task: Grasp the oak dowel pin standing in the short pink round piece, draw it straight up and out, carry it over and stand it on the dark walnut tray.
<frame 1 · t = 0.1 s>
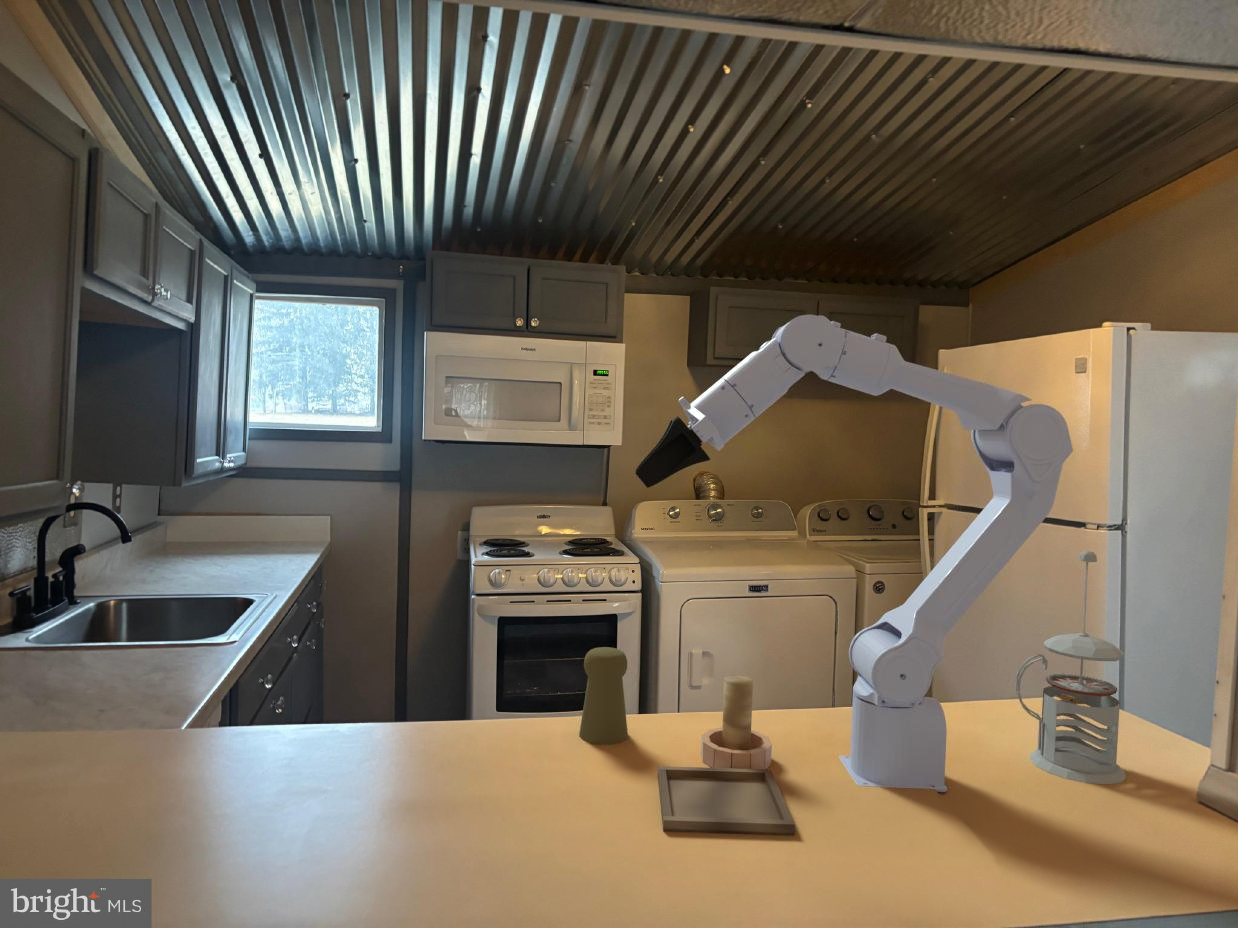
hand: (641, 479, 88), 32 cm above the countertop, tool tilted 50°, fingers open, 7 cm apart
french press: (1067, 766, 94), on the countertop
dowel pin: (735, 758, 91), point 1 cm above the countertop, touching pink round piece
pink round piece: (735, 764, 91), on the countertop
walnut tray: (720, 808, 80), on the countertop
olive green pawn: (603, 741, 97), on the countertop
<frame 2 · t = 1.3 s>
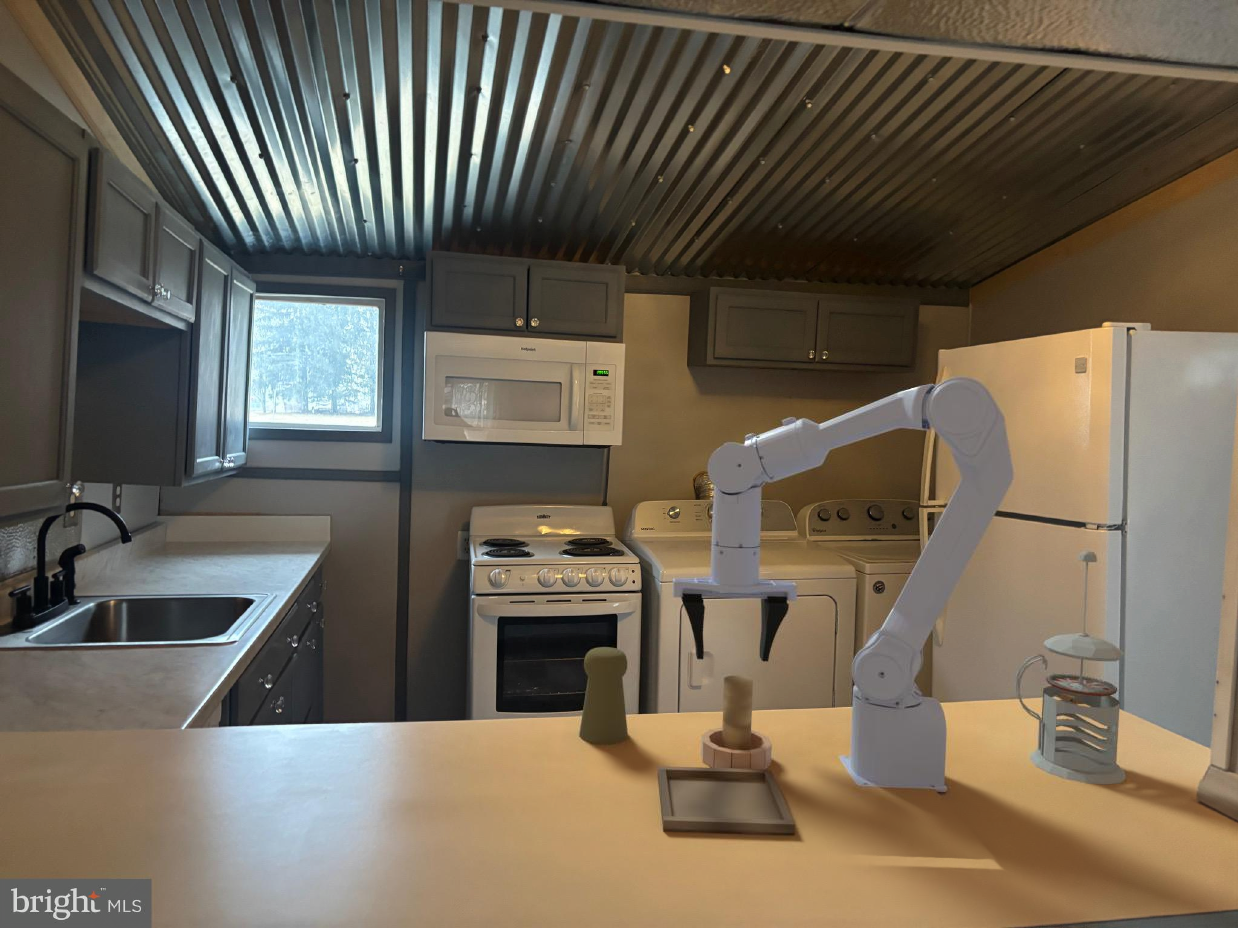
hand: (731, 658, 96), 10 cm above the countertop, tool pointing down, fingers open, 7 cm apart
nothing on the countertop moved.
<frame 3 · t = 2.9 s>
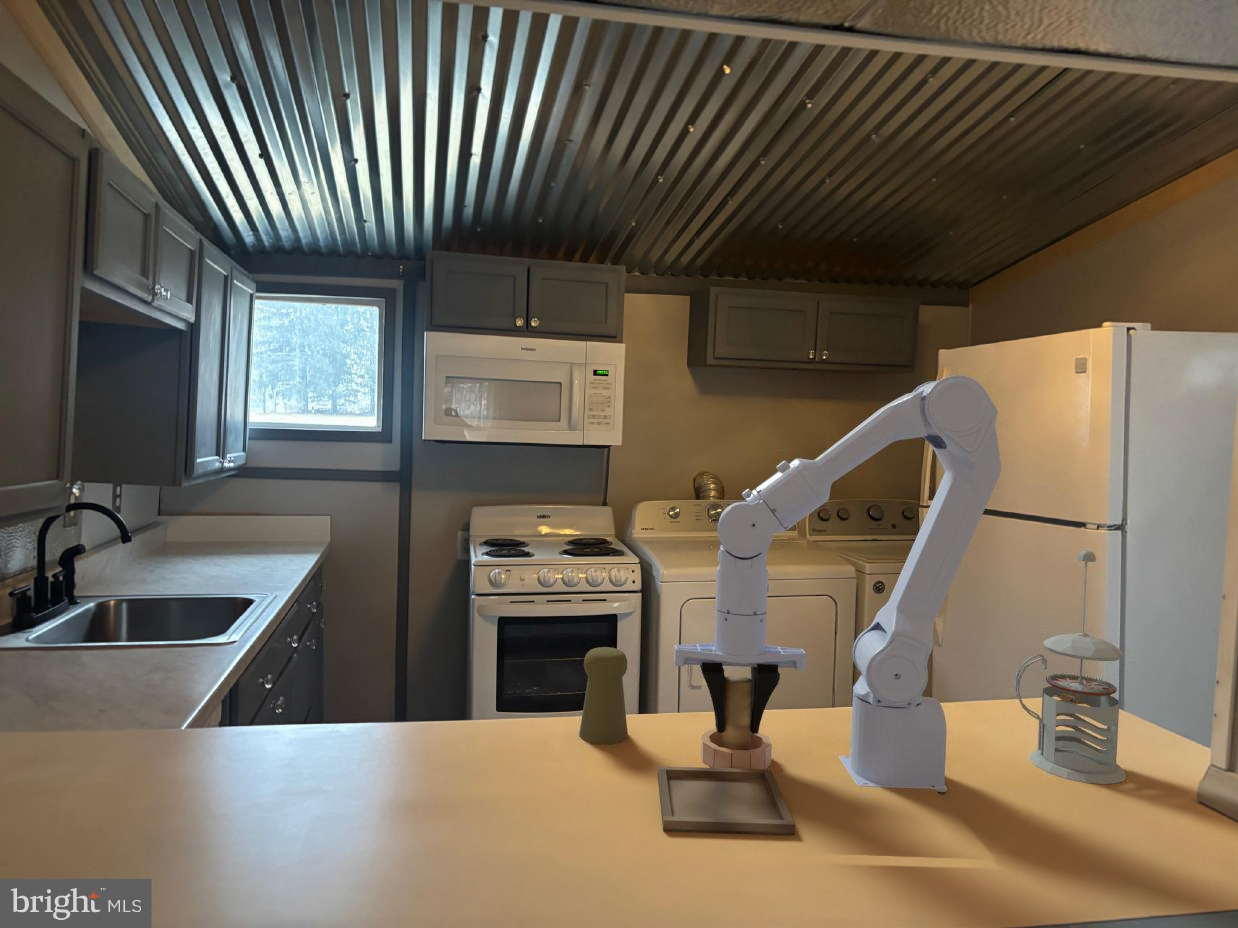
hand: (736, 729, 91), 4 cm above the countertop, tool pointing down, fingers closed on dowel pin, 3 cm apart
dowel pin: (735, 758, 91), point 1 cm above the countertop, touching gripper, pink round piece
everything else where it was.
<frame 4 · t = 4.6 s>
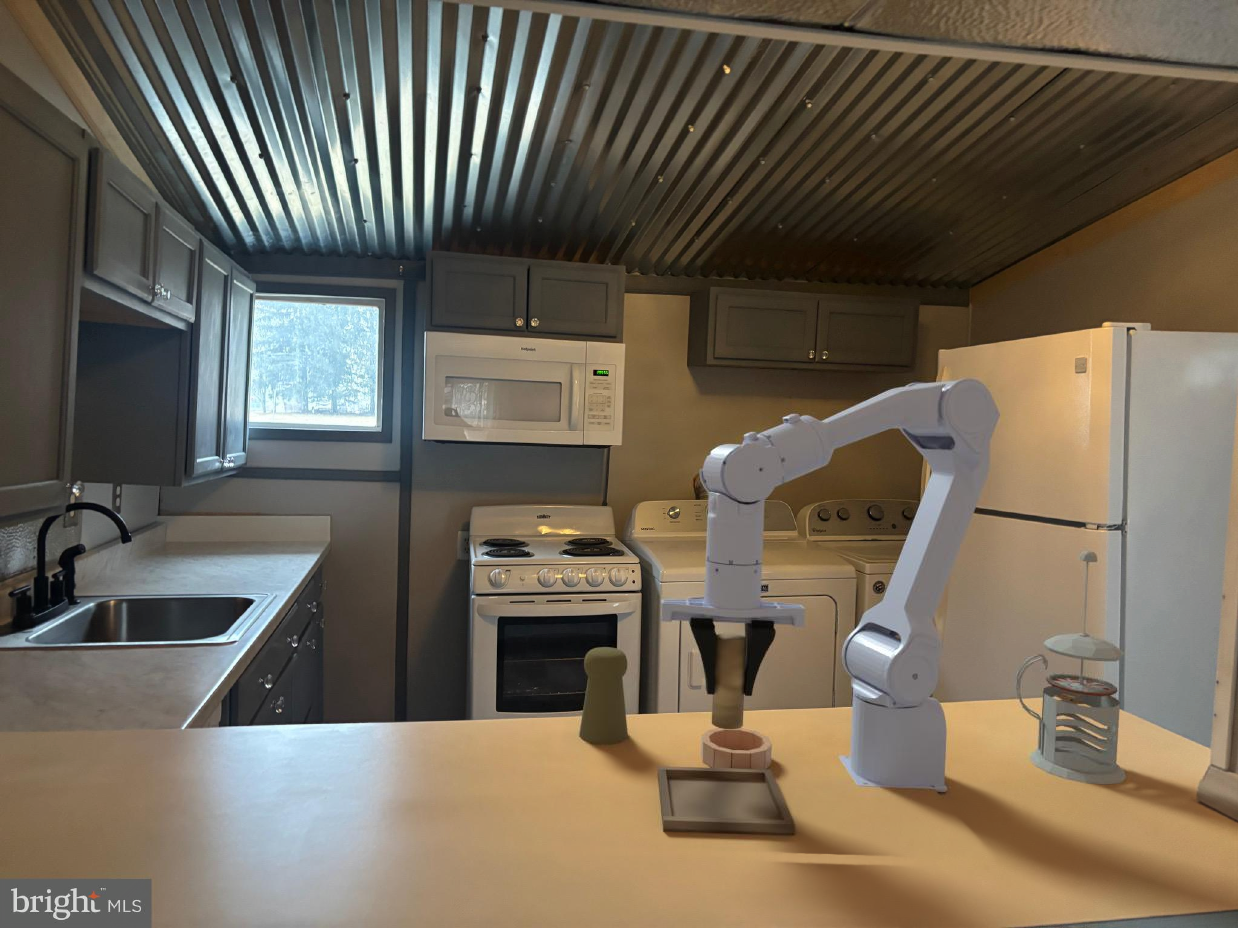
hand: (728, 692, 83), 10 cm above the countertop, tool pointing down, fingers closed on dowel pin, 3 cm apart
dowel pin: (727, 723, 83), point 7 cm above the countertop, touching gripper
everything else where it was.
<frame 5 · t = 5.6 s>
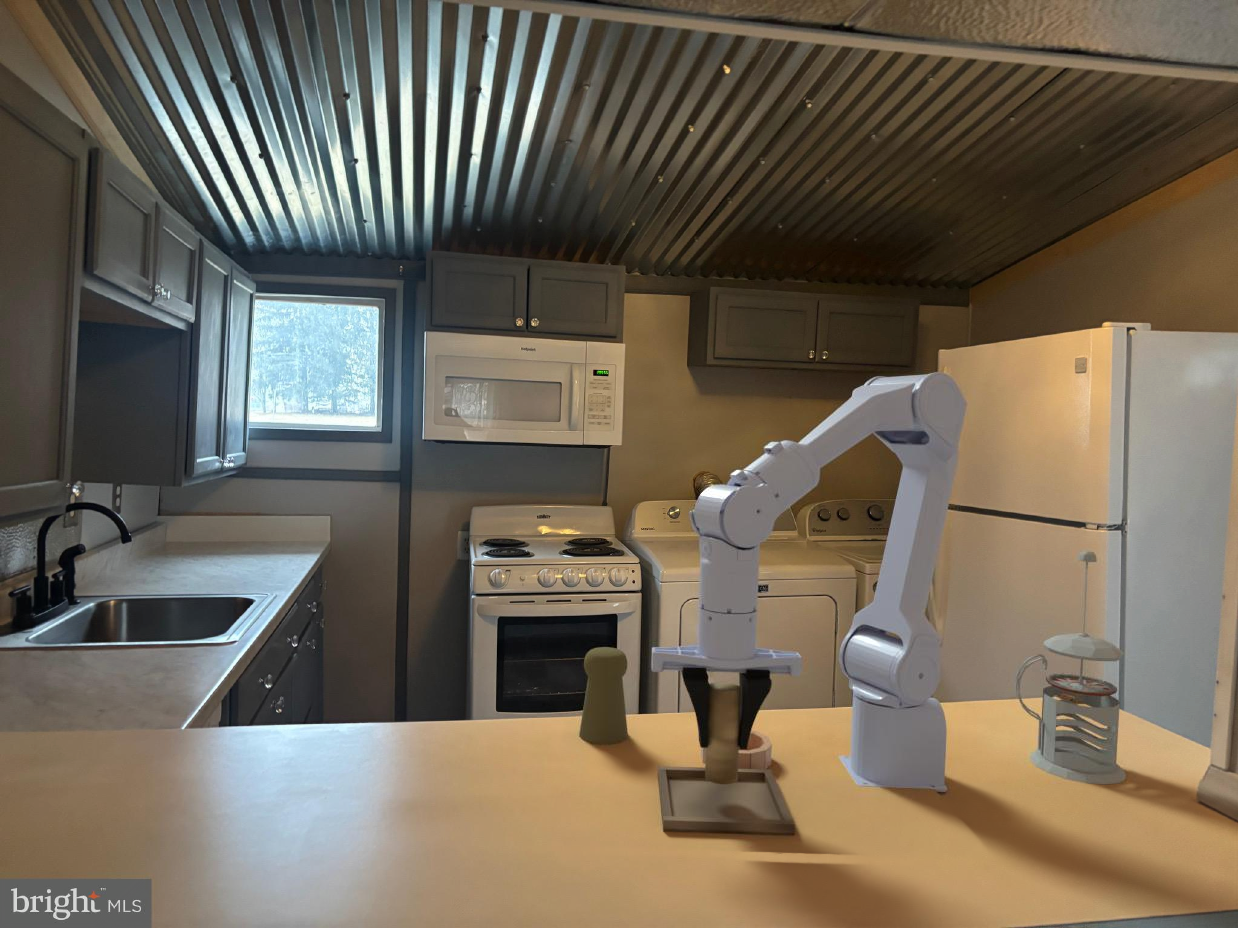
hand: (722, 744, 79), 6 cm above the countertop, tool pointing down, fingers closed on dowel pin, 3 cm apart
dowel pin: (721, 777, 80), point 3 cm above the countertop, touching gripper
everything else where it was.
when the fingers open (5 cm above the countertop, at t = 6.1 s): dowel pin drops 1 cm, resting on walnut tray.
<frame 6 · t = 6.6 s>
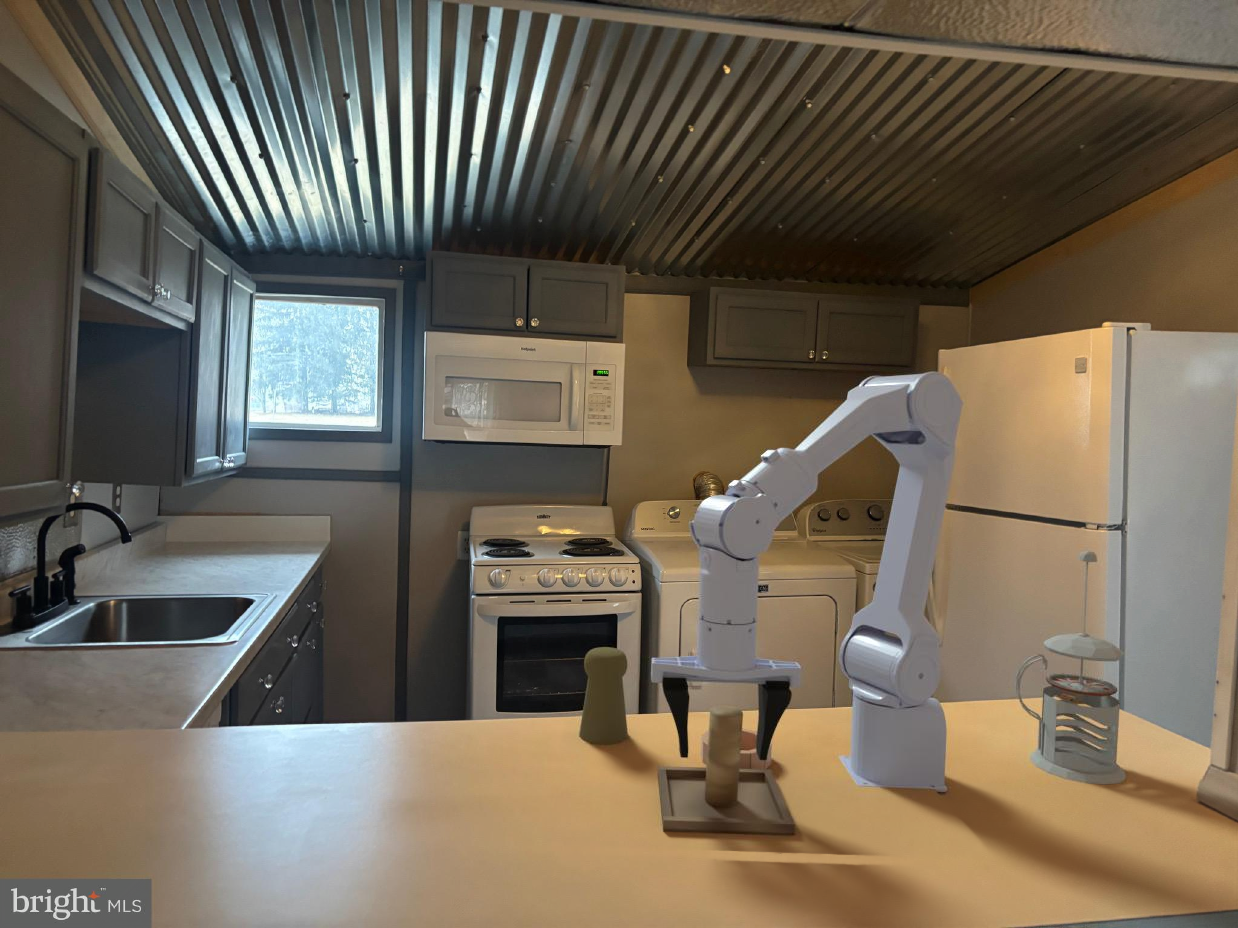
hand: (722, 754, 79), 5 cm above the countertop, tool pointing down, fingers open, 7 cm apart
dowel pin: (720, 799, 80), point 1 cm above the countertop, touching walnut tray
everything else where it was.
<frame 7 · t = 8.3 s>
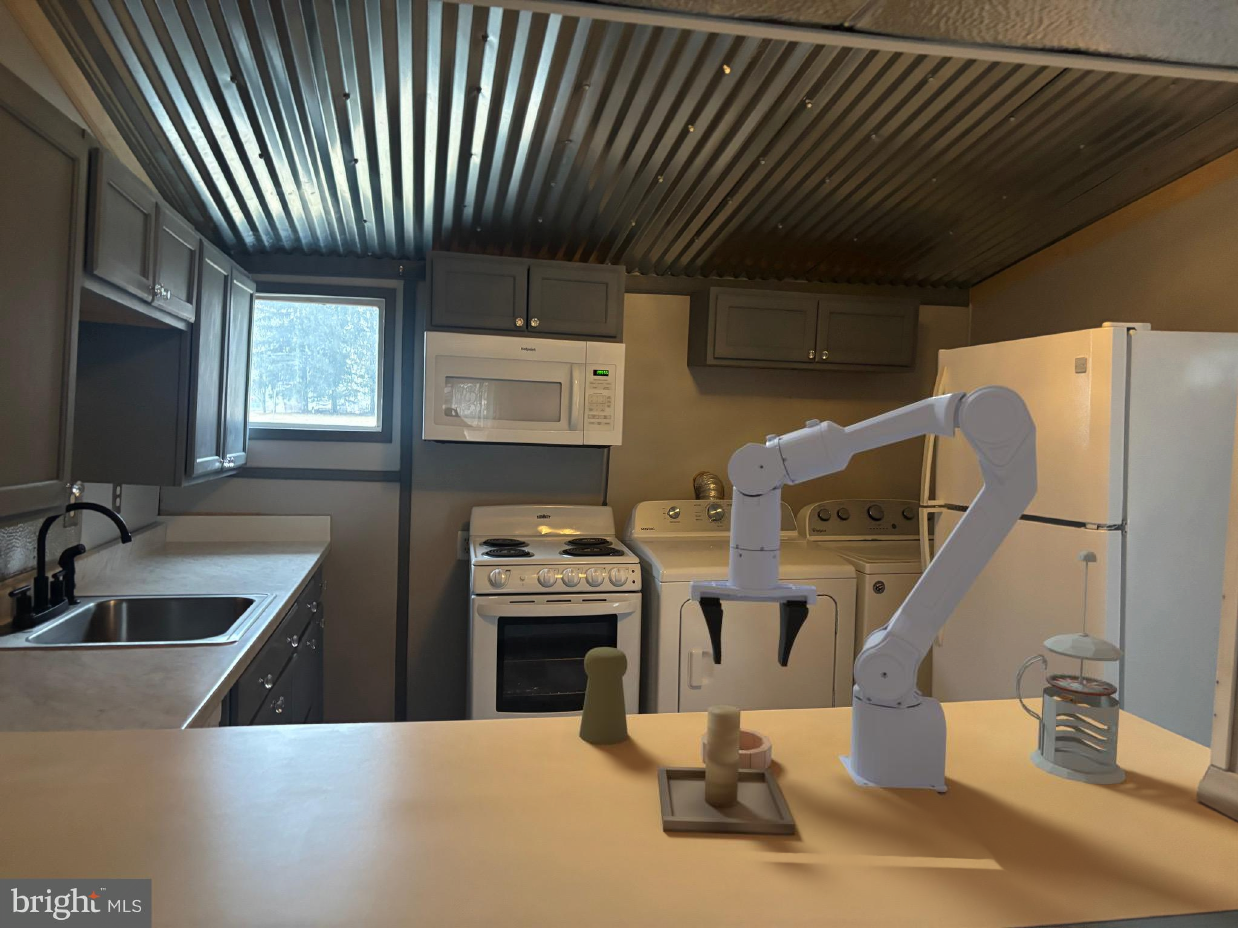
hand: (749, 663, 94), 10 cm above the countertop, tool pointing down, fingers open, 7 cm apart
nothing on the countertop moved.
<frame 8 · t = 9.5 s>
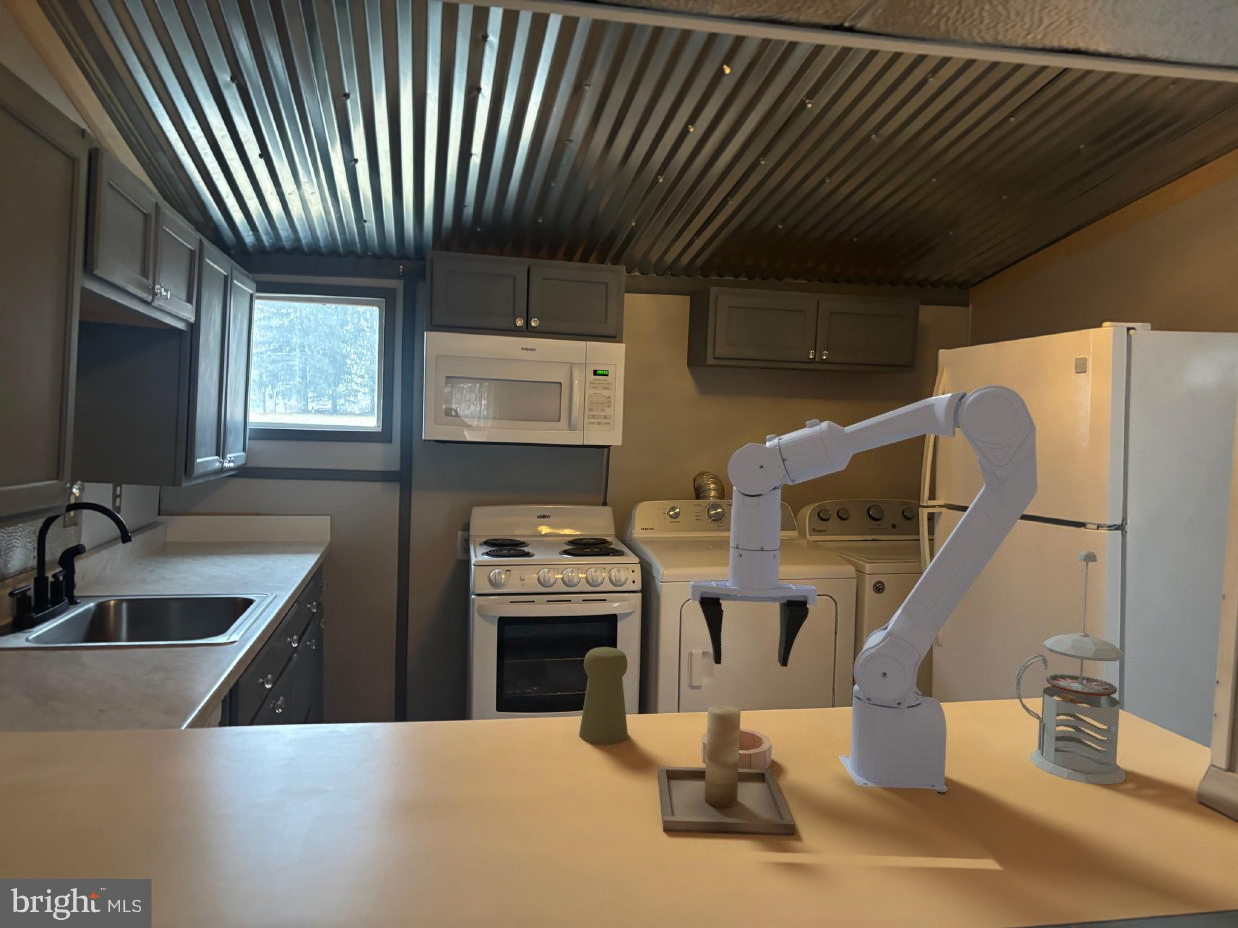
hand: (749, 662, 94), 10 cm above the countertop, tool pointing down, fingers open, 7 cm apart
nothing on the countertop moved.
at the end: dowel pin inside the target area on the walnut tray (0.1 cm from its centre), point 0.8 cm above the walnut tray's base; dowel pin tilted 0°; the gripper is holding nothing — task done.
